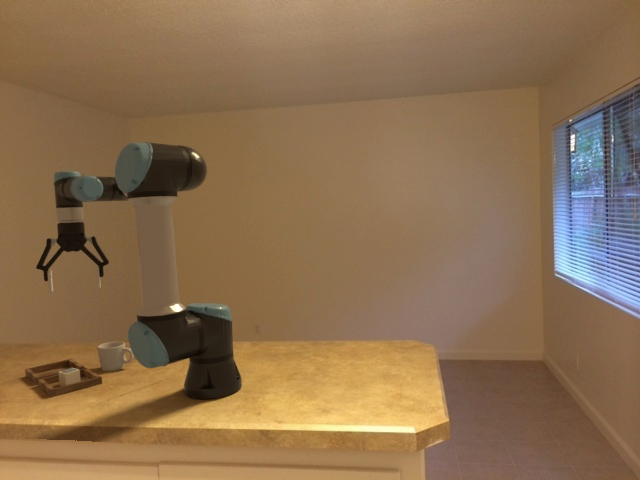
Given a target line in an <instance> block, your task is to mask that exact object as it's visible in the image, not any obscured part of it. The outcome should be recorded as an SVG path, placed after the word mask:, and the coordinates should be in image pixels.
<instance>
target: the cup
mask: <svg viewBox="0 0 640 480" xmlns="http://www.w3.org/2000/svg"><path fill="white" fill-rule="evenodd" d="M96 349H97V354H98V355H97V356H98V358H99V365H100V369H101V370H102V371H103V372H105V373H106V372H115V371H116V372H117V371H120V370H122V369H123V368H124V367H125V364H130V363H131V362H133V360H134V358H135V357H134V355H133V353H132V351H131V348H130V347H126V342H124V341H109V342H105V343H104V342H103V343H101V344H99V345H98V346H97V348H96ZM127 352H128V354H129V359H127V357H126V353H127Z"/></svg>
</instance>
